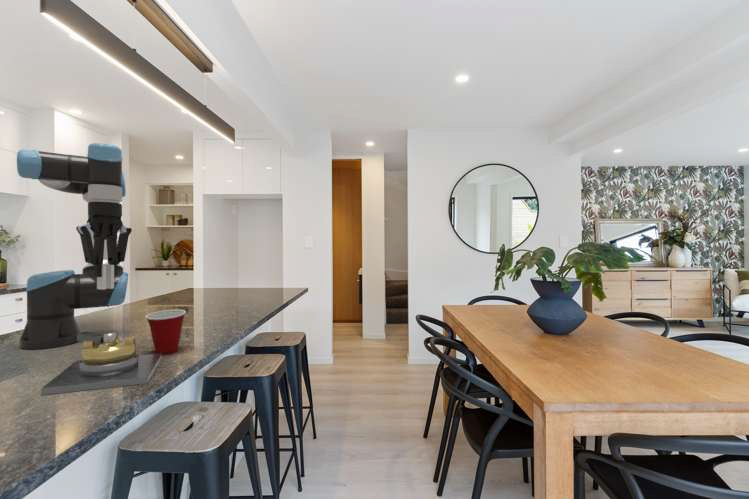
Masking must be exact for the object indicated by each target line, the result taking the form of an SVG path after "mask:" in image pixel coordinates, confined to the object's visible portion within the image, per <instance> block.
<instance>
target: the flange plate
mask: <svg viewBox="0 0 749 499" xmlns="http://www.w3.org/2000/svg"><path fill="white" fill-rule="evenodd" d="M162 359H163V354H162V353H160V354H156V353H152V354H151V353H150V354H141V355H140V354H139V353H137V352H136V355H135V356H134V357H132V358H130V359H127V360H123V361H119V362H114V363H108V364H85V363H83V362H82V359H80V360H76V361H74V362H73V363H72V364H70V365H69V366H68V367H67V368H65V369H64V370H63V371H61V372H60V373H59V374H58V375H56V376H55V377H53V379H51V380H50V381H49V382H47V383H46V384H45V385H43V387H41V388H40V390H41V392H40V395H41V396H46V395H55V394H64V393H74V392H83V391H90V390H92V391H93V390H100V389H107V388H108V389H110V388H117V387H118V388H119V387H128V386H129V387H130V386H136V385H137V386H138V385H145V384H149V382H150V381H149V380H151V379H152V377H153V375H154V374H155V371H156V370H157V368H158V367H159V364H160V363H161V361H162Z"/></svg>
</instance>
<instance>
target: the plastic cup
mask: <svg viewBox="0 0 749 499" xmlns="http://www.w3.org/2000/svg"><path fill="white" fill-rule="evenodd" d="M186 314H187V311H186V310H184V309H176V308H175V309H164V310H163V309H162V310H157V311H154V312H151V313H148V314H146V315H145V316H144V317H145V319H146V320H147V322H148V325H149V327H150V328H149V329H150V333H151V338H152V343H153V348H154V351H155V354H160V353H162V355H168V354H173V353H176V352H177V351H178V349H179V345H180V344H179V342H180V340H181V334H182V329H183V328H182V327H183V322H184V317H185V315H186Z"/></svg>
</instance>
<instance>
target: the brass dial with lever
mask: <svg viewBox="0 0 749 499" xmlns="http://www.w3.org/2000/svg"><path fill="white" fill-rule="evenodd" d="M80 332H81V333H77V341H78V342H82V343H83V344H82V346H83V347H82V348H81V360H82V362H83V363H85V364H108V363H114V362H119V361H123V360H127V359H130V358H132V357H134V356H135V355H136V353H137V341H136V337H135V336H133V337H126V338H125V339H121V335H120V334H117V332H114V331H113V332H112V331H111V332H106V333H103V334H101V333H97V332H96V333H95V332H91V331H90V332H89V331H80Z"/></svg>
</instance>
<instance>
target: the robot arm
mask: <svg viewBox="0 0 749 499" xmlns="http://www.w3.org/2000/svg"><path fill="white" fill-rule="evenodd" d="M16 153H17V154H16V169H17V174H18V176H19V177H20V178H23V179H31V180H38V182H39V183H40V184H41V185H43V186H44V187H47V188H50V189H52V190H55V191H59V192H64V193H67V194H74V195H82V200H83V201H85V202H86V203H87V221H86V223H85V224H82V225H77V226H76V228H75V229H76V231H77V233H78V234H79V237H80V242H81V247H82V251H83V256H84V261H85V263H86V265H85V266H84V267H83V268H82V273H76V274H75V271H74V269H66V270H55V271H49V272H43V273H38V274H32V275H31V276H29V277H28V279H27V281H26V289H25V292H26V323H25V326H24V329H23V331H22V332H21V336H20V338H19V341H18V342H19V343H18V344H19V348H20V349H23V350H24V349H25V350H39V349H50V348H57V347H63V346H67V345H72V344H75V343H78V342H79V341H77V333H81V332H82V331H81V330H80V327H79V325H78V322H77V320H76V317H75V310H78V309H90V308H91V309H92V308H102V307H103V308H105V307H107V308H109V307H113V306H114V307H115V306H120V305H122V304H124V303H125V300H126V295H127V288H128V281H129V280H128V279H129V273H128V272H126V271H124V266H123V265H121V264H120V263H123V262H125V259H126V254H127V249H128V243H129V236H130V235H131V233H132V231H133V230H132V228H131V227H127V226H125V225H124V223H123V221H122V216H123V205H122V204H121V202H123V198H124V197H126V192H127V191H126V182H125V175H124V173H123V172H124V171H123V153H122V149H121V148H120V147H119V146H116V145H114V144H110V143H102V142H93V143H90V144H88V146H87V154H86V155H87V156H83V155H74V154H64V153H57V152H50V151H49V152H48V151H40V150H36V149H32V150H31V149H19V151H18V152H16ZM118 233H119V234H118Z"/></svg>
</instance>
